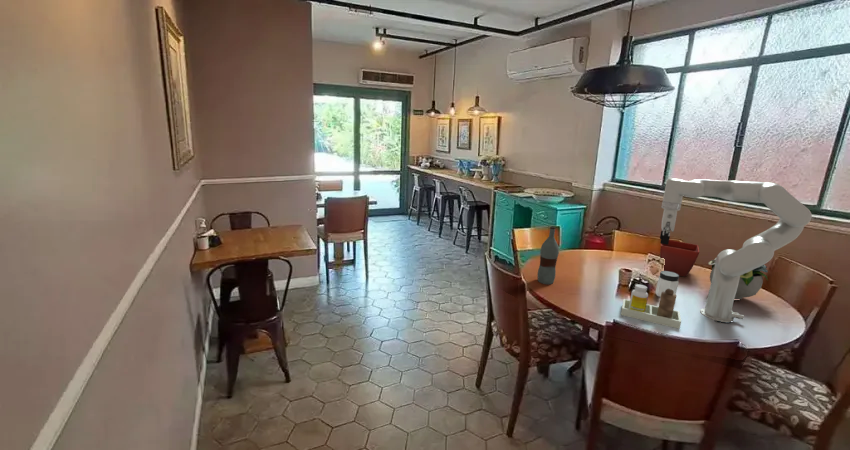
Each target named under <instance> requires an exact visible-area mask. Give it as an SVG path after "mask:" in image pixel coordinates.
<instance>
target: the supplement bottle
mask: <svg viewBox="0 0 850 450" xmlns="http://www.w3.org/2000/svg"><path fill="white" fill-rule="evenodd" d="M647 291H648V286H646V285H644V284H638V283H637V284H635V285H634V289H633V290H631V294H630V299H629V300H630V304H629V309H631V310H636V311H640V312H644V313H645V310H646V305H647V303H648V298H649V293H648V292H647Z"/></svg>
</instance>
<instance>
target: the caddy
mask: <svg viewBox="0 0 850 450" xmlns="http://www.w3.org/2000/svg"><path fill="white" fill-rule="evenodd" d="M629 304H630V299H625V298H623V300H622V306H621V307H622V308H621V311H620V315H621V316H623V317H629V318H631V319H632V318H633V319H637V320H640V321H641V320H642V321H645V322H649V323H654V324H658V325H662V326H666V327H670V328H673V329H680V328H681V324H682V318H681V312H680V310H675V309H674V310H673V314H672V319H670V318H666V317H662V316H657V312H658V307H659V306H656V305H653V304H647V305H646V310H645V313H644V312H640V311H636V310H631V309H629ZM680 330H681V329H680Z"/></svg>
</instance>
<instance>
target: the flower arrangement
mask: <svg viewBox="0 0 850 450" xmlns="http://www.w3.org/2000/svg"><path fill="white" fill-rule="evenodd" d="M716 258H717V257H715V258H714V259H711V260H710V261H708V265H711V271H710V273H709V280H710V283H711V282H712V277H713V273H714V268H715V262H716ZM767 268H768V266H766V265H765V264H764V265H762V266H760V267H758V268H756V269H753V270H751V271H749V272H747V273H745V274H743V275H740V279H739V283H738V287H737V291H736V295H735V299H741V300H743V298H749V297H754V296H756V295H757V294H758V292H759V291H760V290H761V289H762V285H763V278H764V277H765V279H766V280H767V281H769V279H768V276H767V275H766V273H768V271H769V270H768V269H767ZM763 272H764V273H763Z"/></svg>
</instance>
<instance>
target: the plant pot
mask: <svg viewBox="0 0 850 450" xmlns="http://www.w3.org/2000/svg"><path fill="white" fill-rule="evenodd" d="M659 253H660V254H659V259H660V258H664V259H665V265H664V271H669V272H673V273H676V274H678V275H679V277H683V276H684V278H686V277H687V276H688V275H689V273H690V272H691V270H692V269H693V267H694V266H695V263H697V259H698V257H699V255H700V248H699V245H698V244H696V243H695V244H694V243H687V242H682V241H676V240H671V239H669V243H668V245H666V244H661V243H660V252H659Z"/></svg>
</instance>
